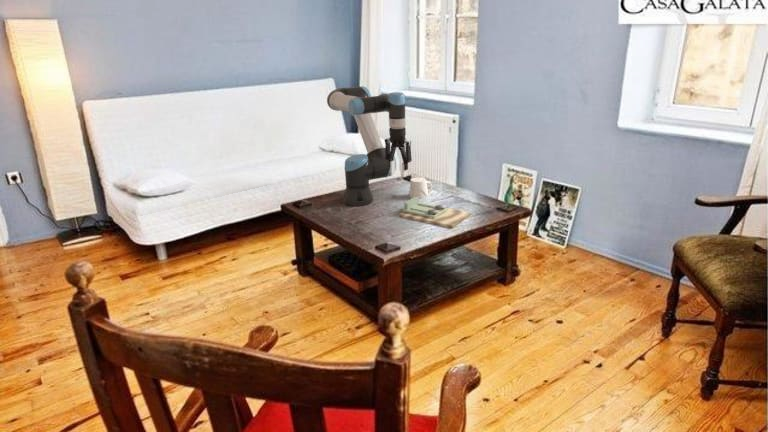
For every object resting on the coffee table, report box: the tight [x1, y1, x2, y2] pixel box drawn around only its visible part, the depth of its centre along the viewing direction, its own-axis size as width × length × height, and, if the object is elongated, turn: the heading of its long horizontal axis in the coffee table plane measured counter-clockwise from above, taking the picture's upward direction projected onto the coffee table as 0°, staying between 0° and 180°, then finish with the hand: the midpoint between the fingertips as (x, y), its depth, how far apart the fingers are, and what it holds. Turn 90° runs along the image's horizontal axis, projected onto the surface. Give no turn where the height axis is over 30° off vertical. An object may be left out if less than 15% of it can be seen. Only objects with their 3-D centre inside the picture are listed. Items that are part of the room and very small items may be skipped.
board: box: [399, 204, 472, 229], centre depth 234 cm, size 28×18×4 cm, turn 55°
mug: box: [408, 176, 433, 200], centre depth 259 cm, size 12×9×8 cm
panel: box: [402, 197, 448, 218], centre depth 236 cm, size 17×12×4 cm
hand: (398, 175), depth 239 cm, fingers open, 6 cm apart
